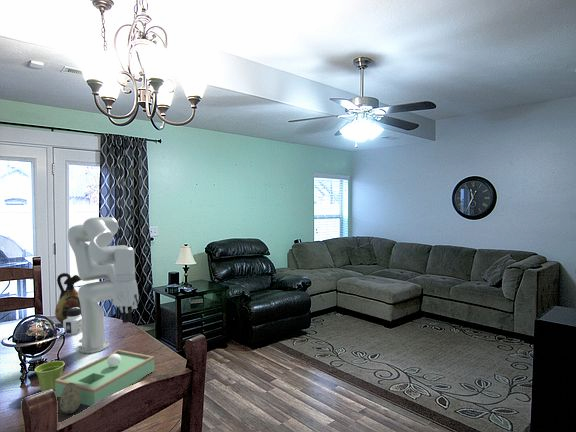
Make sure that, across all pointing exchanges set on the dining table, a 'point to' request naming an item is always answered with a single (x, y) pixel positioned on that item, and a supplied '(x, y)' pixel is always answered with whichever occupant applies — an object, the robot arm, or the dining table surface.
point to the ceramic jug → (67, 297)
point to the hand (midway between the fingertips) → (127, 321)
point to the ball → (114, 360)
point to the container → (73, 321)
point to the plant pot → (49, 374)
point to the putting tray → (106, 376)
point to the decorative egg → (70, 398)
